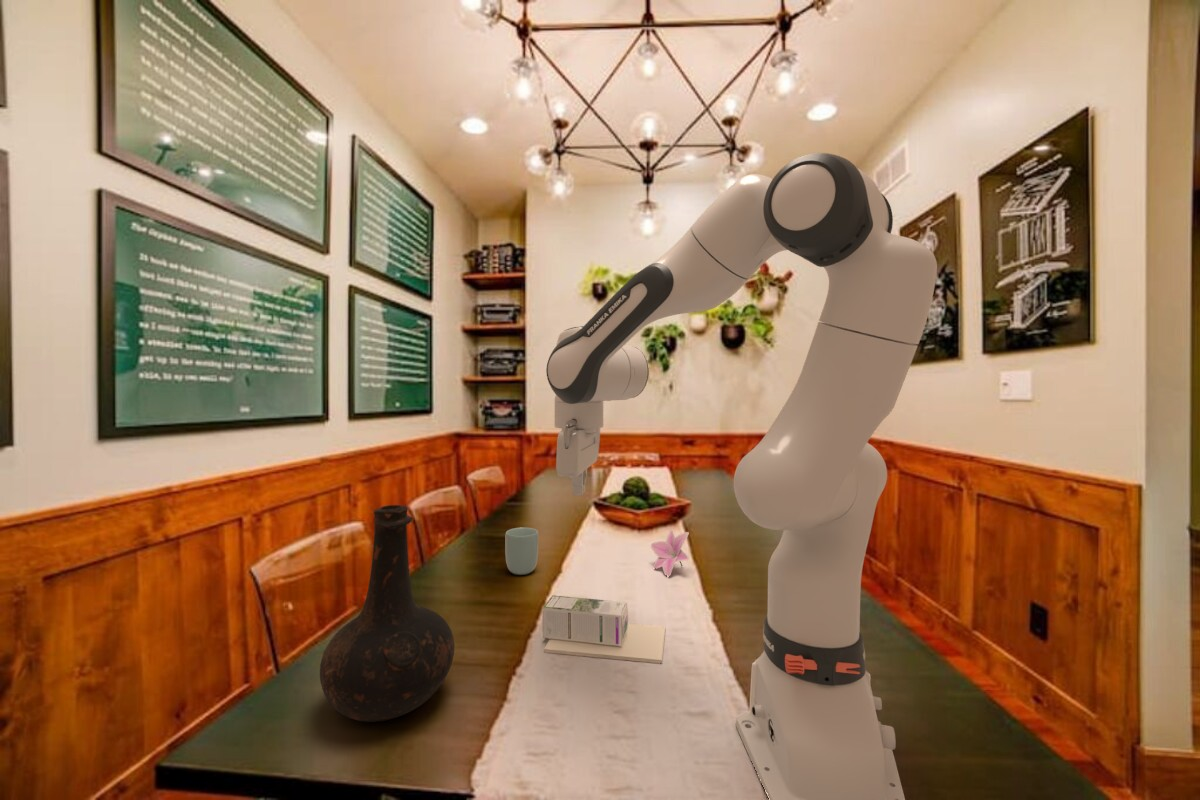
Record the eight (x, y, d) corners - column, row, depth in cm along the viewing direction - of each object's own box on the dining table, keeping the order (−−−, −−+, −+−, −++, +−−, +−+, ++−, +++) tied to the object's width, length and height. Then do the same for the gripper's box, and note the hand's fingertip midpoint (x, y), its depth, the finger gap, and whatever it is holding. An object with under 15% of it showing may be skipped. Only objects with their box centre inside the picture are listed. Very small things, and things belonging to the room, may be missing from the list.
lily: (650, 564, 135) (638, 536, 131) (691, 546, 135) (681, 518, 132) (663, 596, 124) (651, 566, 120) (708, 576, 124) (697, 546, 121)
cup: (544, 570, 127) (544, 530, 127) (523, 580, 121) (523, 538, 120) (520, 564, 131) (520, 525, 131) (498, 573, 125) (498, 532, 125)
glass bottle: (325, 763, 62) (323, 531, 61) (315, 689, 77) (314, 502, 76) (471, 713, 71) (470, 512, 71) (436, 656, 86) (436, 490, 86)
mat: (662, 663, 84) (662, 660, 84) (544, 652, 88) (544, 648, 88) (665, 629, 96) (665, 626, 96) (561, 621, 100) (561, 617, 100)
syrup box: (542, 639, 91) (622, 649, 88) (542, 606, 91) (623, 615, 88) (551, 623, 97) (628, 632, 94) (552, 593, 97) (628, 601, 93)
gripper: (584, 421, 82) (584, 507, 83) (604, 415, 102) (604, 484, 103) (546, 421, 83) (546, 506, 84) (573, 415, 104) (573, 483, 104)
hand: (578, 494), depth 93 cm, fingers closed
